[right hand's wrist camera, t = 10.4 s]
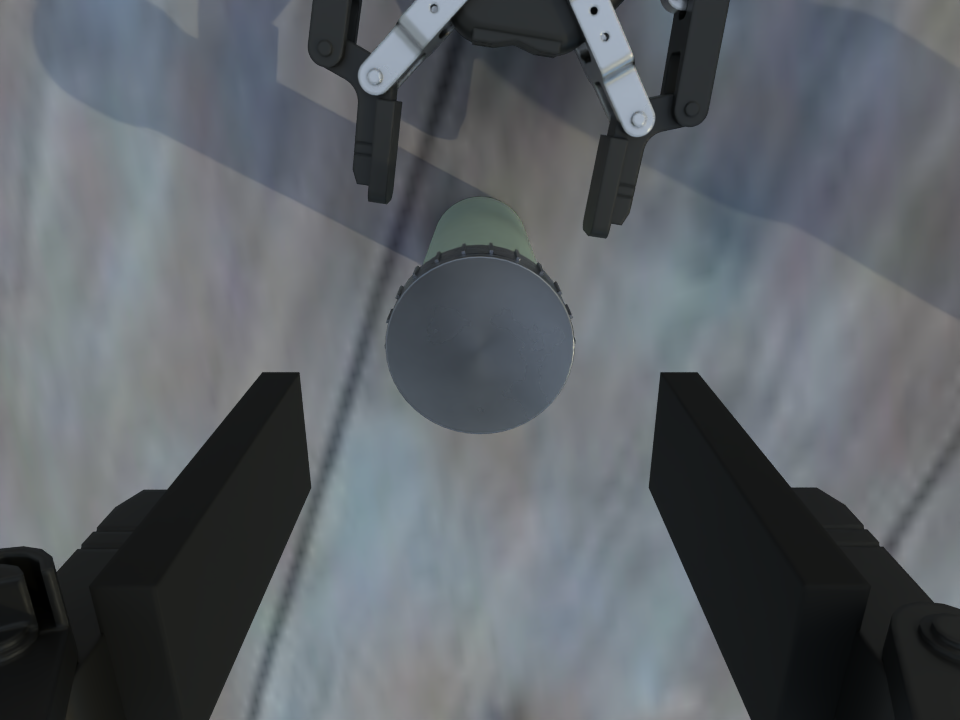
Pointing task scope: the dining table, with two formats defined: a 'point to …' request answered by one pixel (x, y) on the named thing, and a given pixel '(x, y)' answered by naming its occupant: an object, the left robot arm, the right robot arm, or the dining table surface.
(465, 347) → the lid
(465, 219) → the bottle
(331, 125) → the dining table surface
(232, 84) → the dining table surface
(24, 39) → the dining table surface
